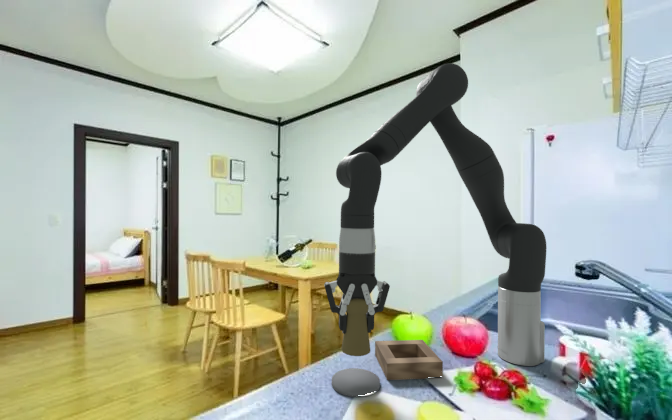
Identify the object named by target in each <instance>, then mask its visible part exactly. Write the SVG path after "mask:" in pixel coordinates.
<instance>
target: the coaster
mask: <svg viewBox="0 0 672 420" xmlns="http://www.w3.org/2000/svg"><path fill="white" fill-rule="evenodd" d="M331 387H332V389H333V390H334V391H335V392H337V393H339V394H340V395H343V396H345V397H351V398H357V397H356V396H358V395H365V394H367V393H371V392H374V391H377V392H378V391H379V390H380V387H381V379H380V377H379V376H378V375H377V374H376V373H375V372H372V371H371V370H367V369H364V368H358V367H357V368H354V367H352V368H344V369H341V370H339V371H337V372H335V373H334V374H333V375H332V377H331Z"/></svg>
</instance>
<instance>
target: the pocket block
mask: <svg viewBox="0 0 672 420" xmlns="http://www.w3.org/2000/svg"><path fill="white" fill-rule="evenodd" d="M374 356H375V358H376V360H377V362H378V364H379V366H380V369H381V370H382V373H383V374H384V377H385V379H386V380H387V381H399V380H400V381H401V380H423V379H424V380H425V379H426V378H428V377H440V376H444V374H443V373H444V372H443V371H444V369H443V367H444V362H443V360H442V359H441V358H440V357H439V356H438V355H437V354H436V353H435V352H434V350H433V349H432V348H431V347H430V346H429V345H428V344H427V343H426V342H425V341H424V340H423V339H407V340H406V339H405V340H399V339H398V340H375V341H374Z"/></svg>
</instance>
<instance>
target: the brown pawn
mask: <svg viewBox="0 0 672 420" xmlns="http://www.w3.org/2000/svg"><path fill="white" fill-rule="evenodd" d="M368 307H369V306H368V305H367V304H366V301H365V299H351V300H350V303H349V305H347V310H346V316H347V320H346V333H343V336H342V343H341V352H342V353H344V354H345V355H346V356H347V355H348V356H351V357H363V356H367V355H369V354H370V353H371V343H370V335H369V334H370V333H368V326H367V316H366V313H367V312H368Z"/></svg>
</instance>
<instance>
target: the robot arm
mask: <svg viewBox="0 0 672 420" xmlns="http://www.w3.org/2000/svg"><path fill="white" fill-rule="evenodd" d="M468 88H469V79H468V75H467V73H466V71H465V70H464V69H463V68H462V67H461V65H458V64H456V63H451V62H450V63H449V62H448V63H444V64H442V65H439V66H438V67H436V68H435V69H434V70H432V71H431V73H429V74H428V75H427V76H426V77H424V78H423V79H422V80H421V81H420V82H419V83H418V84H417V87H416V92H415V94H416V96H415V97H414V98H413V99H411V100H410V102H408V103H406V105H405V106H403V107H402V108H401V109H399V110H398V111H397V112H396V113H395V114H393V115H392V116H391V117H389V118H388V119H387V120H386V121H385V122H384V123H383V124H381V126H380V127H379V128H378V129H376V130H375V131H374V132H373V134H371V136H370V137H369V138H368V139H366V140H364V142H362V143H361V144H359V145H358V146H357V147H355V148H354V149H353V150H351V151H350V152H349V153H348V154H346V155H345V156H344V157H343V158H342V159H341V160H340V161H339V163H338V164H337V166H336V170H335V171H336V172H335V176H336V180H337V182H338V183H339V185H341V186H342V187H344V188H346V189H349V191H348V197H347V199H345V200H344V201H343V202H342V203H341V207H340V231H339V238H338V239H339V241H338V276H337V277H336V280H334V281H331V282H330V281H325V282H324V284H323V285H324V289H325V294H326V297H327V300H328V301H327V302H328V304H329V308H330V311H331V313H333V314H335V313H336V314H338V328H339V331H342V334H344V333H346V320H347V316H346V314H347V313H346V310H347V305H349V303H350V300H351V299H365V301H366V304H367V305H368V306H369V307H368V312H367V313H366V316H367V326H368V333H369V334H372V331H374V329H375V315H376V314H377V313H381V312H383V311H384V309H385V305H386V301H387V298H388V294H389V291H390V286H391V285H390V284H389V283H388V282H387V281H385V280H384V281H380V280H378V279H377V277H376V248H377V247H376V235H375V206H376V203H377V201H378V196H379V191H380V186H381V182H382V168H381V166H383V165H385V164H388V163H390V162H391V161H392V160H394V159H395V158H397V156H398V155H399V154H400V153H401V152H402V151H403V150H404V149H405V148H406V147H407V146H408V145H409V143H411V142H412V141H413V140H414V138H415V137H416V136H417V135H418V134H419V133H420V132H421V131H422V130H423V129H424V128H425V127H426V126H427V125H428V124H429V123H430V124H431V125H432V127H433V128H434V130H435V131H436V133H437V135H438V136H439V137H440V139H441V141H442V143H443V145H444V147H445V149H446V151H447V153H448V155H449V156H450V158H451V160H452V162H453V165H454V166H455V168H456V171H457V172H458V174H459V176H460V178H461V180H462V182H463V184H464V185H465V187H466V189H467V191H468V193H469V195H470V197H471V199H472V202H473V203H474V205H475V207H476V209H477V211H478V212H479V215H480V216H481V219H482V222H483V226H484V227H485V230H486V232H487V236H488V237H489V241H490V242H491V245H492V247H493V249H494V250H495V252H496V253H497V254H498V255H499V256H501V257H503V258H505V259H509V260H508V261H509V262H508V268H507V270H506V272H503V273H501V274H499V275H498V278H497V356H498V357H499V358H501V359H502V360H504V361H506V362H509V363H511V364H515V365H517V366H518V365H519V366H525V367H534V366H538V365H540V364H541V363H545V354H546V353H545V349H546V348H545V341H546V340H545V339H546V338H545V336H546V334H545V332H546V331H545V330H546V329H545V325H546V324H545V322H544V321H542V319H541V318H542V316H541V315H542V311H541V308H542V307H541V306H542V305H541V299H542V298H541V297H542V296H541V295H542V293H541V290H542V283H543V282H544V279H545V277H546V276H545V275H546V265H547V263H546V262H547V241H546V236H545V234H544V231H543V230H542V229H541V228H540V227H539V226H537V225H535V224H532V223H523V222H522V223H518V222H517V221H516V220H515V218H514V217H513V215H512V214H511V211H510V209H509V208H508V206H507V202H506V199H505V177H504V176H505V175H504V171H503V167H502V166H501V164H500V162H499V159H498V157H497V156H496V153H495V151H494V150H493V148H492V147H491V145H490V144H489V143H488V142H486V140H485V139H483V138H481V137H480V136H479V135H477V134H476V133H474V132H473V131H472V130H470V129H469V128H467V127H466V126H465V125H464V124H463V123H462V122H461V120H460V119H459V117H458V116H457V114H456V112H455V110H454V108H453V105H455V104H456V103H458V102H459V101H460V100H461V99H463V97H464V96H465V94H466V93H467V91H468ZM337 287H338V289H340V291H341V292H342V296H341V299H340V303H339V305H337V304H336V301H335V298H334V297H335V296H334V294H333V293H335V292H336V288H337ZM376 287H377V289H376V290H377V291H378V295H377V298H376V301H375V304H373V301H372V298H371V293H372V292H373V290H374V289H375V288H376Z"/></svg>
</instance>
